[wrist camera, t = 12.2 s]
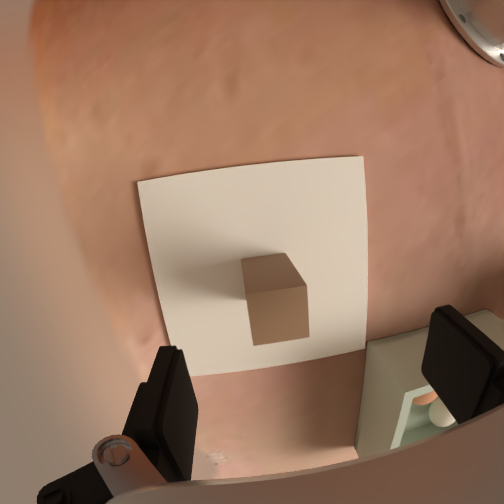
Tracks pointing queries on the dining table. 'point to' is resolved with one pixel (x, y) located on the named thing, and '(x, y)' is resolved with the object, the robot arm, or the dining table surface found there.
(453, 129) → the dining table surface
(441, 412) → the ball cream
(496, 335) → the box
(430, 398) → the ball terracotta
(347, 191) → the lid
